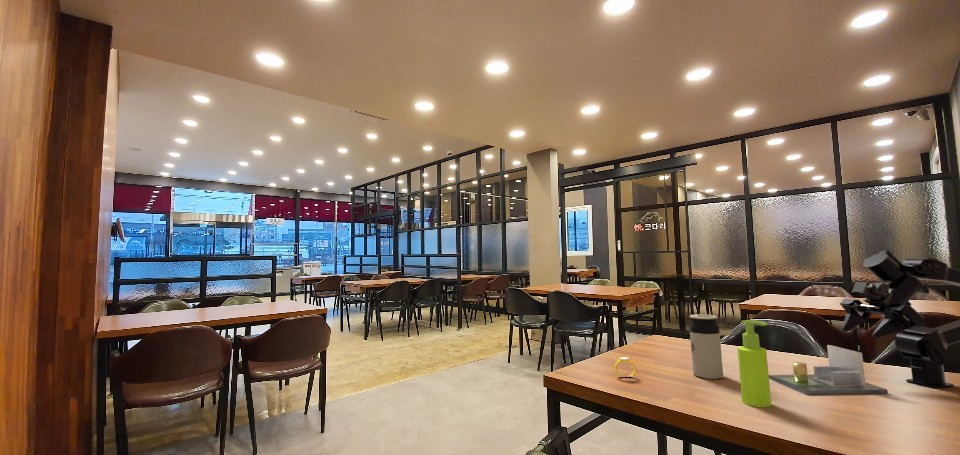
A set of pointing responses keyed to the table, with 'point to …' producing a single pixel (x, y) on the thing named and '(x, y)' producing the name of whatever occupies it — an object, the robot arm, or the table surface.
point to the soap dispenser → (753, 368)
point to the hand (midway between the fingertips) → (858, 333)
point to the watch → (625, 360)
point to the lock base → (821, 383)
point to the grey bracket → (842, 367)
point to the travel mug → (706, 346)
